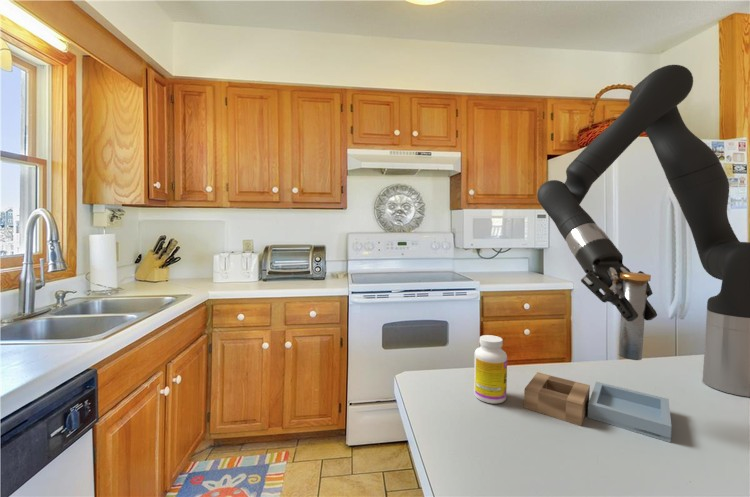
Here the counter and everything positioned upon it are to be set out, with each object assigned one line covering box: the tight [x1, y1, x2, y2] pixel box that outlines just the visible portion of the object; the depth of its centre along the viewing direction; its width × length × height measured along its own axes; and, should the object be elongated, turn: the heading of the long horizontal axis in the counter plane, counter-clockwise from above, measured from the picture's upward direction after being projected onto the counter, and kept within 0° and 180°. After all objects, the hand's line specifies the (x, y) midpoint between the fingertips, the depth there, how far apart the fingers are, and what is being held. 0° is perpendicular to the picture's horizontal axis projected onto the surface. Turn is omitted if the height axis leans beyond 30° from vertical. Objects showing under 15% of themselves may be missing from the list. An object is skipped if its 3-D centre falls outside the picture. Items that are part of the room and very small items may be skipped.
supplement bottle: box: [473, 334, 508, 405], centre depth 72 cm, size 7×7×13 cm
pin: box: [618, 271, 652, 361], centre depth 65 cm, size 5×5×16 cm
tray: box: [587, 381, 672, 444], centre depth 66 cm, size 12×12×3 cm
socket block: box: [523, 372, 591, 427], centre depth 69 cm, size 10×10×4 cm
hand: (642, 318), depth 63 cm, fingers closed on pin, 3 cm apart
